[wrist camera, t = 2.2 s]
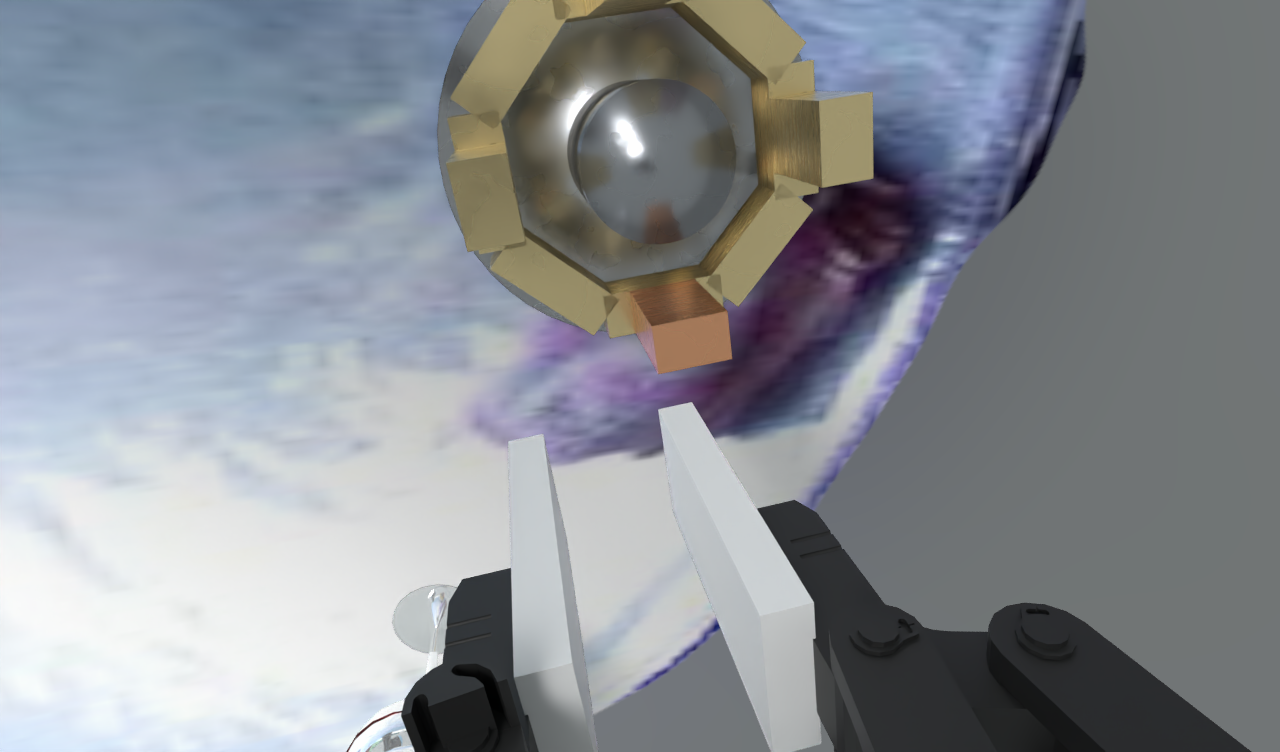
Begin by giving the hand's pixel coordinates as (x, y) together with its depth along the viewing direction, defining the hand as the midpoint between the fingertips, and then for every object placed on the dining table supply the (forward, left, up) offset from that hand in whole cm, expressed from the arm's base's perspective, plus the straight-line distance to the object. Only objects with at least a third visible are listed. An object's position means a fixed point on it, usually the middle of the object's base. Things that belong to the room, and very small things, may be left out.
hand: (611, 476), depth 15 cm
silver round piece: (-5, +5, -21) cm, 22 cm away
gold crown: (-5, +5, -19) cm, 20 cm away
